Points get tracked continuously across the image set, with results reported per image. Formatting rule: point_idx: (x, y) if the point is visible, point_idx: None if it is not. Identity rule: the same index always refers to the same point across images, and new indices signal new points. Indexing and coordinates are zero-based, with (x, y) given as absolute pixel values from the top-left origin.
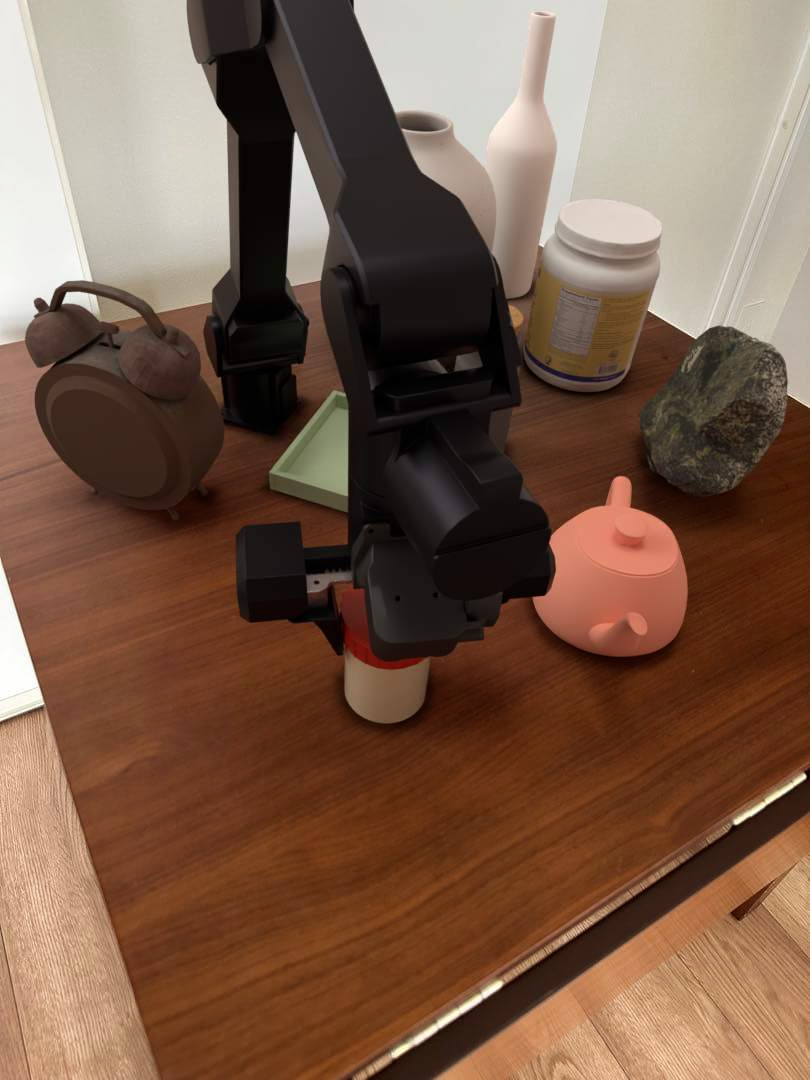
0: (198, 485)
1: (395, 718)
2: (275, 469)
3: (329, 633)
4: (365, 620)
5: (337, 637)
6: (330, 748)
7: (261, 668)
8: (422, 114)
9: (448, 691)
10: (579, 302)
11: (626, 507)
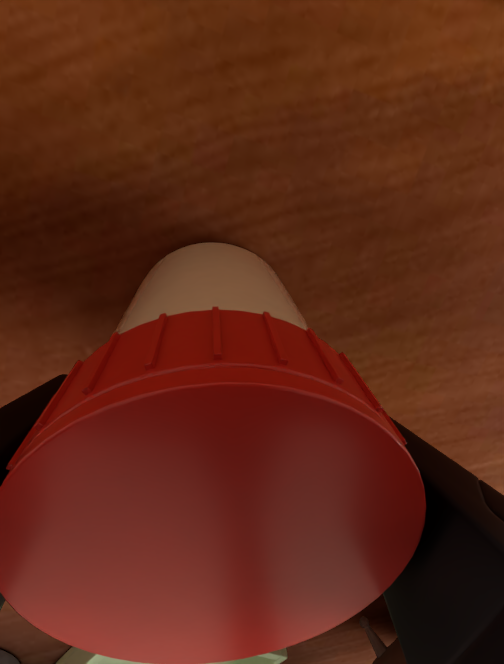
0: (374, 637)
1: (216, 245)
2: (278, 661)
3: (465, 480)
4: (347, 523)
5: (417, 457)
6: (349, 221)
7: (394, 392)
8: None
9: (90, 284)
10: None
11: None
